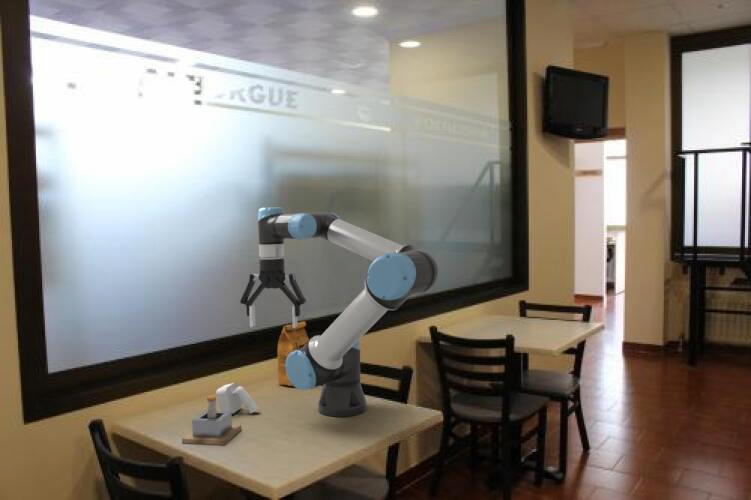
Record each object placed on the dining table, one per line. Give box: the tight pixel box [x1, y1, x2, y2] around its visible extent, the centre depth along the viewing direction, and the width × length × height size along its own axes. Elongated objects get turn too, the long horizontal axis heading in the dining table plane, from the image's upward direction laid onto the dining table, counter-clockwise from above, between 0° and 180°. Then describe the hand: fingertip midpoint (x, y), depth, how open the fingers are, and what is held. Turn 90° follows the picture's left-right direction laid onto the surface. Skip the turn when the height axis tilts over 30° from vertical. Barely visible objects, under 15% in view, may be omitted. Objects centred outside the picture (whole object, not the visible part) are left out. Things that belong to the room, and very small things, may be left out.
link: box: [191, 410, 233, 438], centre depth 172 cm, size 8×8×4 cm
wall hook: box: [215, 382, 259, 415], centre depth 192 cm, size 8×10×10 cm
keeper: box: [181, 394, 242, 446], centre depth 172 cm, size 12×12×11 cm
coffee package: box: [276, 321, 310, 387], centre depth 224 cm, size 10×12×22 cm
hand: (273, 326), depth 191 cm, fingers open, 13 cm apart
